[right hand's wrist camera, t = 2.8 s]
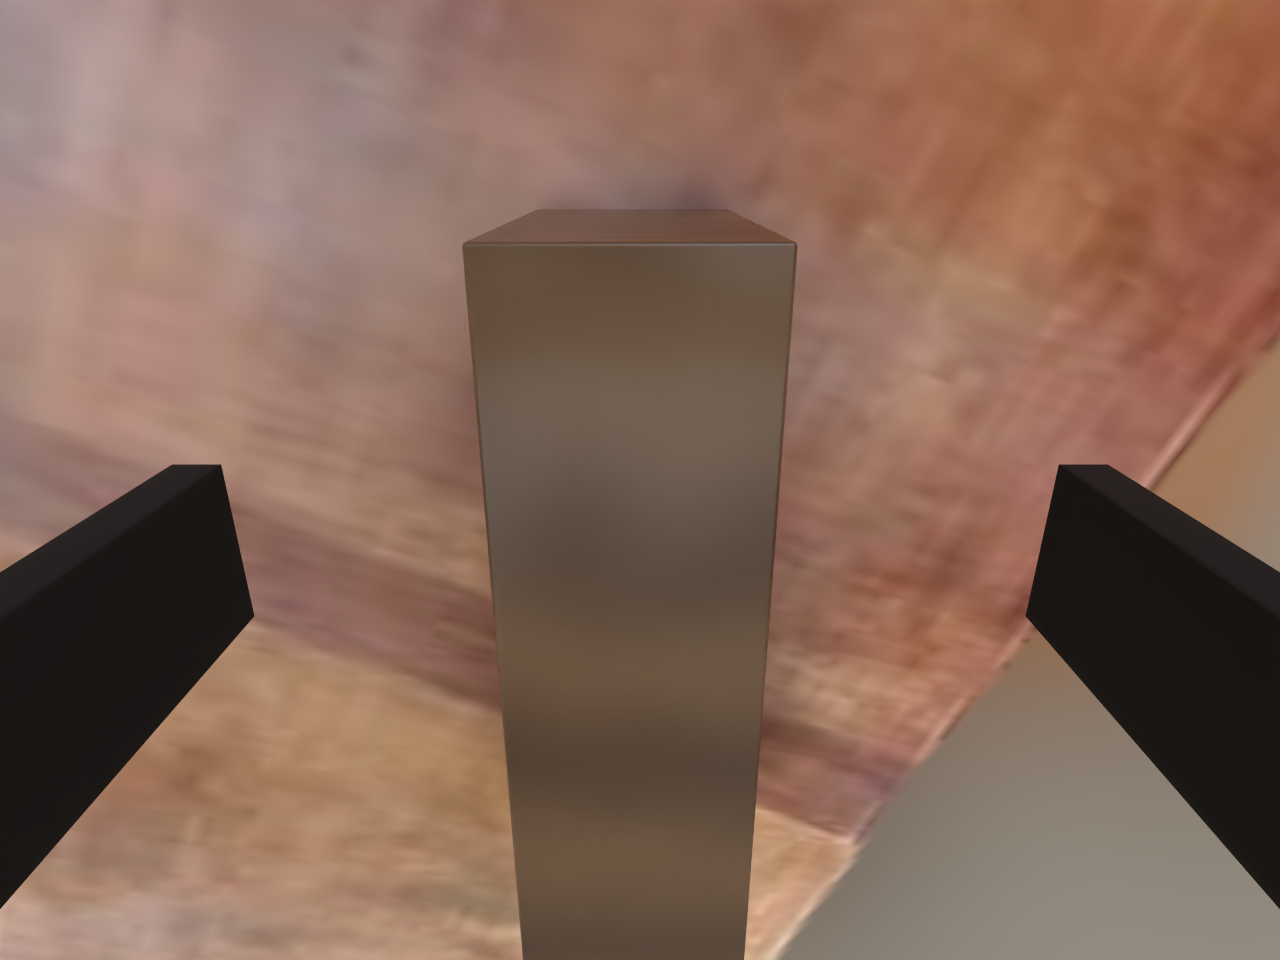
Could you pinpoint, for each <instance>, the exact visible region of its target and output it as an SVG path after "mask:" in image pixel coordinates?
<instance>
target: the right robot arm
mask: <svg viewBox="0 0 1280 960" xmlns="http://www.w3.org/2000/svg"><path fill="white" fill-rule="evenodd" d="M253 617H254V612H253V608H252V603H251V599H250V594H249V590H248V585H247V581H246V576H245V571H244V567H243V562H242V558H241V553H240V549H239V544H238V540H237V535H236V531H235V526H234V521H233V517H232V512H231V508H230V503H229V499H228V494H227V490H226V485H225V480H224V476H223V471H222V467H221V465H171V466H169V467H168V468H166V469H164V470H163V471H161V472H160V473H158V474H156V475H155V476H153V477H152V478H150V479H148V480H147V481H145V482H144V483H142V484H140V485H139V486H137V487H136V488H134V489H132V490H131V491H129V492H128V493H126V494H124V495H123V496H121V497H120V498H118V499H116V500H115V501H113V502H112V503H110V504H109V505H107V506H105V507H104V508H102V509H101V510H99V511H97V512H96V513H94V514H93V515H91V516H89V517H88V518H86V519H85V520H83V521H81V522H80V523H78V524H77V525H75V526H73V527H72V528H70V529H69V530H67V531H65V532H64V533H62V534H61V535H59V536H57V537H56V538H54V539H53V540H51V541H49V542H48V543H46V544H45V545H43V546H41V547H40V548H38V549H37V550H35V551H34V552H32V553H30V554H29V555H27V556H26V557H24V558H22V559H21V560H19V561H18V562H16V563H14V564H13V565H11V566H10V567H8V568H6V569H5V570H3V571H2V572H0V909H1V908H2V906H3V905H4V904H5V903H6V902H7V901H8V899H9V898H10V897H11V896H12V895H13V894H14V893H15V891H16V890H17V889H18V888H19V887H20V886H21V884H22V883H23V882H24V881H25V880H26V879H27V878H28V876H29V875H30V874H31V873H32V872H33V871H34V869H35V868H36V867H37V866H38V865H39V864H40V863H41V861H42V860H43V859H44V858H45V857H46V856H47V855H48V853H49V852H50V851H51V850H52V849H53V848H54V846H55V845H56V844H57V843H58V842H59V841H60V840H61V838H62V837H63V836H64V835H65V834H66V833H67V831H68V830H69V829H70V828H71V827H72V826H73V825H74V823H75V822H76V821H77V820H78V819H79V818H80V816H81V815H82V814H83V813H84V812H85V811H86V810H87V808H88V807H89V806H90V805H91V804H92V803H93V801H94V800H95V799H96V798H97V797H98V796H99V795H100V793H101V792H102V791H103V790H104V789H105V788H106V786H107V785H108V784H109V783H110V782H111V781H112V780H113V778H114V777H115V776H116V775H117V774H118V773H119V772H120V770H121V769H122V768H123V767H124V766H125V765H126V763H127V762H128V761H129V760H130V759H131V758H132V757H133V755H134V754H135V753H136V752H137V751H138V750H139V748H140V747H141V746H142V745H143V744H144V743H145V742H146V740H147V739H148V738H149V737H150V736H151V735H152V733H153V732H154V731H155V730H156V729H157V728H158V727H159V725H160V724H161V723H162V722H163V721H164V720H165V718H166V717H167V716H168V715H169V714H170V713H171V712H172V710H173V709H174V708H175V707H176V706H177V705H178V703H179V702H180V701H181V700H182V699H183V698H184V697H185V695H186V694H187V693H188V692H189V691H190V690H191V689H192V687H193V686H194V685H195V684H196V683H197V682H198V680H199V679H200V678H201V677H202V676H203V675H204V674H205V672H206V671H207V670H208V669H209V668H210V667H211V665H212V664H213V663H214V662H215V661H216V660H217V659H218V657H219V656H220V655H221V654H222V653H223V652H224V650H225V649H226V648H227V647H228V646H229V645H230V644H231V642H232V641H233V640H234V639H235V638H236V637H237V635H238V634H239V633H240V632H241V631H242V630H243V629H244V627H245V626H246V625H247V624H248V623H249V622H250V620H251V619H252V618H253ZM1026 617H1027V618H1028V619H1029V620H1030V622H1031V623H1032V624H1033V625H1034V626H1035V627H1036V629H1037V630H1038V631H1039V632H1040V633H1041V634H1042V635H1043V637H1044V638H1045V639H1046V640H1047V641H1048V642H1049V644H1050V645H1051V646H1052V647H1053V648H1054V649H1055V650H1056V652H1057V653H1058V654H1059V655H1060V656H1061V657H1062V659H1063V660H1064V661H1065V662H1066V663H1067V664H1068V665H1069V667H1070V668H1071V669H1072V670H1073V671H1074V672H1075V674H1076V675H1077V676H1078V677H1079V678H1080V679H1081V680H1082V682H1083V683H1084V684H1085V685H1086V686H1087V687H1088V689H1089V690H1090V691H1091V692H1092V693H1093V694H1094V695H1095V697H1096V698H1097V699H1098V700H1099V701H1100V702H1101V703H1102V705H1103V706H1104V707H1105V708H1106V709H1107V710H1108V712H1109V713H1110V714H1111V715H1112V716H1113V717H1114V718H1115V720H1116V721H1117V722H1118V723H1119V724H1120V725H1121V727H1122V728H1123V729H1124V730H1125V731H1126V732H1127V733H1128V735H1129V736H1130V737H1131V738H1132V739H1133V740H1134V742H1135V743H1136V744H1137V745H1138V746H1139V747H1140V748H1141V750H1142V751H1143V752H1144V753H1145V754H1146V755H1147V757H1148V758H1149V759H1150V760H1151V761H1152V762H1153V763H1154V765H1155V766H1156V767H1157V768H1158V769H1159V770H1160V771H1161V773H1162V774H1163V775H1164V776H1165V777H1166V778H1167V780H1168V781H1169V782H1170V783H1171V784H1172V785H1173V786H1174V788H1175V789H1176V790H1177V791H1178V792H1179V793H1180V795H1181V796H1182V797H1183V798H1184V799H1185V800H1186V801H1187V803H1188V804H1189V805H1190V806H1191V807H1192V808H1193V809H1194V811H1195V812H1196V813H1197V814H1198V815H1199V816H1200V818H1201V819H1202V820H1203V821H1204V822H1205V823H1206V824H1207V826H1208V827H1209V828H1210V829H1211V830H1212V831H1213V833H1214V834H1215V835H1216V836H1217V837H1218V838H1219V839H1220V841H1221V842H1222V843H1223V844H1224V845H1225V846H1226V848H1227V849H1228V850H1229V851H1230V852H1231V853H1232V855H1233V856H1234V857H1235V858H1236V859H1237V860H1238V861H1239V863H1240V864H1241V865H1242V866H1243V867H1244V868H1245V869H1246V871H1247V872H1248V873H1249V874H1250V875H1251V876H1252V878H1253V879H1254V880H1255V881H1256V882H1257V883H1258V884H1259V886H1260V887H1261V888H1262V889H1263V890H1264V891H1265V893H1266V894H1267V895H1268V896H1269V897H1270V898H1271V899H1272V901H1273V902H1274V903H1275V904H1276V905H1277V906H1278V908H1279V909H1280V572H1278V571H1277V570H1275V569H1274V568H1272V567H1270V566H1269V565H1267V564H1266V563H1264V562H1262V561H1261V560H1259V559H1258V558H1256V557H1254V556H1253V555H1251V554H1250V553H1248V552H1246V551H1245V550H1243V549H1242V548H1240V547H1239V546H1237V545H1235V544H1234V543H1232V542H1231V541H1229V540H1227V539H1226V538H1224V537H1223V536H1221V535H1219V534H1218V533H1216V532H1215V531H1213V530H1211V529H1210V528H1208V527H1207V526H1205V525H1203V524H1202V523H1200V522H1199V521H1197V520H1195V519H1194V518H1192V517H1191V516H1189V515H1187V514H1186V513H1184V512H1183V511H1181V510H1179V509H1178V508H1176V507H1175V506H1173V505H1171V504H1170V503H1168V502H1167V501H1165V500H1164V499H1162V498H1160V497H1159V496H1157V495H1156V494H1154V493H1152V492H1151V491H1149V490H1148V489H1146V488H1144V487H1143V486H1141V485H1140V484H1138V483H1136V482H1135V481H1133V480H1132V479H1130V478H1128V477H1127V476H1125V475H1124V474H1122V473H1120V472H1119V471H1117V470H1116V469H1114V468H1112V467H1111V466H1109V465H1059V467H1058V471H1057V476H1056V480H1055V485H1054V490H1053V494H1052V499H1051V503H1050V508H1049V512H1048V517H1047V521H1046V526H1045V531H1044V535H1043V540H1042V544H1041V549H1040V553H1039V558H1038V562H1037V567H1036V571H1035V576H1034V581H1033V585H1032V590H1031V594H1030V599H1029V603H1028V608H1027V612H1026Z"/></svg>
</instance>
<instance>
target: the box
mask: <svg viewBox="0 0 1280 960" xmlns="http://www.w3.org/2000/svg"><path fill="white" fill-rule="evenodd" d="M462 248H463V259H464V271H465V283H466V295H467V306H468V318H469V330H470V342H471V353H472V365H473V377H474V389H475V400H476V412H477V424H478V436H479V447H480V459H481V471H482V483H483V494H484V506H485V518H486V530H487V541H488V553H489V565H490V577H491V588H492V600H493V612H494V624H495V635H496V647H497V659H498V671H499V682H500V694H501V706H502V718H503V729H504V741H505V753H506V765H507V776H508V788H509V800H510V812H511V823H512V835H513V847H514V859H515V870H516V882H517V894H518V906H519V917H520V929H521V941H522V953H523V960H744V952H745V938H746V925H747V912H748V898H749V885H750V872H751V858H752V845H753V832H754V818H755V805H756V792H757V778H758V765H759V752H760V739H761V725H762V712H763V699H764V685H765V672H766V659H767V645H768V632H769V619H770V605H771V592H772V579H773V565H774V552H775V539H776V526H777V512H778V499H779V486H780V472H781V459H782V446H783V432H784V419H785V406H786V392H787V379H788V366H789V352H790V339H791V326H792V312H793V299H794V286H795V273H796V259H797V243H796V242H793V241H791V240H789V239H787V238H785V237H783V236H781V235H779V234H777V233H775V232H773V231H770V230H768V229H766V228H764V227H762V226H760V225H758V224H756V223H754V222H752V221H750V220H747V219H745V218H743V217H741V216H739V215H737V214H735V213H733V212H731V211H729V210H536V211H534V212H531V213H529V214H527V215H525V216H523V217H520V218H518V219H516V220H514V221H511V222H509V223H507V224H505V225H503V226H500V227H498V228H496V229H494V230H492V231H489V232H487V233H485V234H483V235H480V236H478V237H476V238H474V239H472V240H469V241H467V242H465V243H463V246H462Z"/></svg>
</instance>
